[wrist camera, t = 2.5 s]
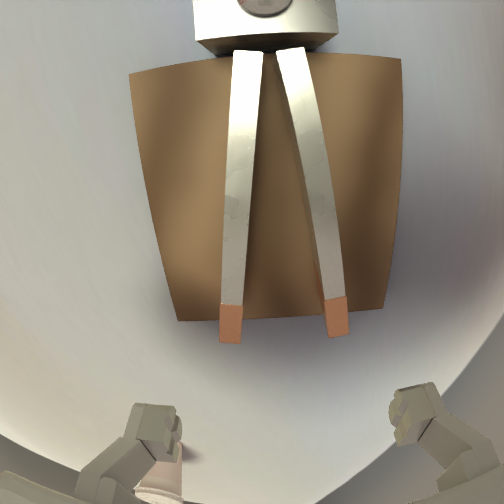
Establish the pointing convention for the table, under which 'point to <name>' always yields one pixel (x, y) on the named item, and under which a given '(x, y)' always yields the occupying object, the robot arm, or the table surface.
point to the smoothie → (163, 482)
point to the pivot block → (263, 24)
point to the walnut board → (270, 181)
